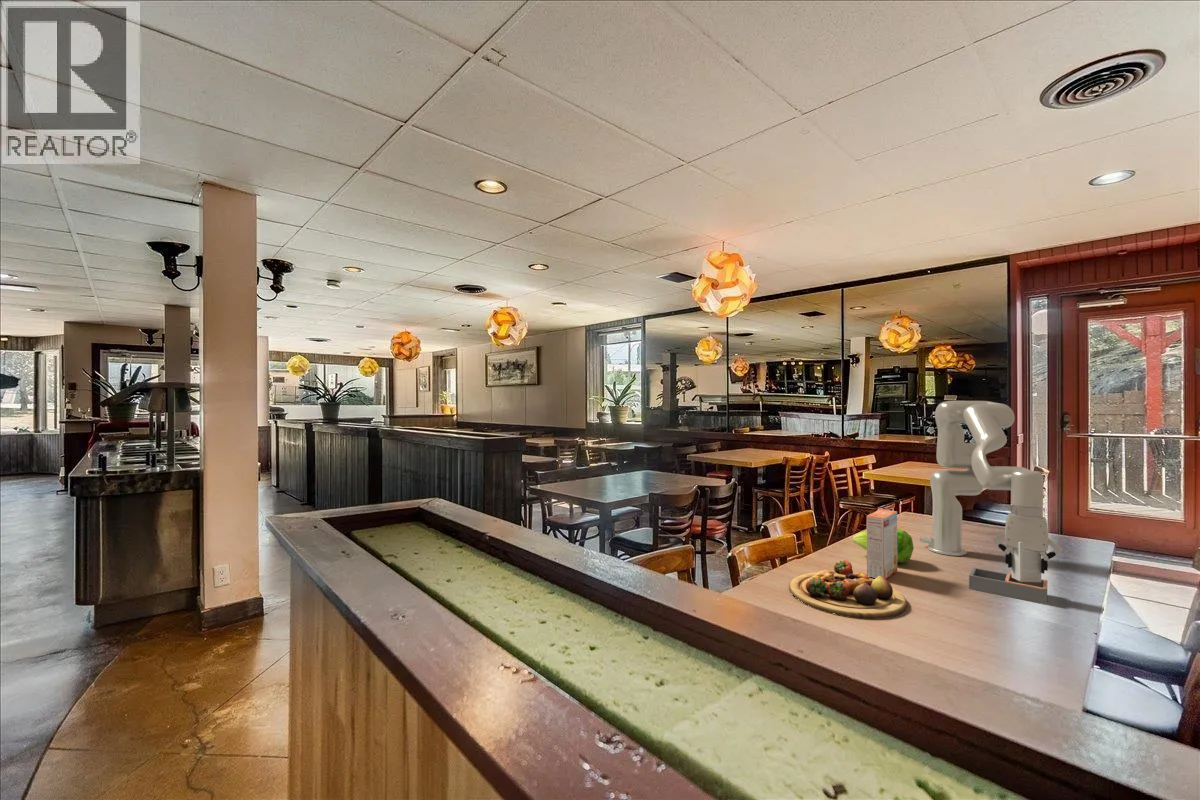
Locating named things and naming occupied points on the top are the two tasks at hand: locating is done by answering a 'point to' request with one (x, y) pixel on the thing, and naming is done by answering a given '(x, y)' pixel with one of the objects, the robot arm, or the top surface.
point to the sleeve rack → (1007, 585)
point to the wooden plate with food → (848, 593)
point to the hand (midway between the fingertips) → (1026, 569)
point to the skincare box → (1025, 564)
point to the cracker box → (881, 543)
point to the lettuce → (903, 544)
